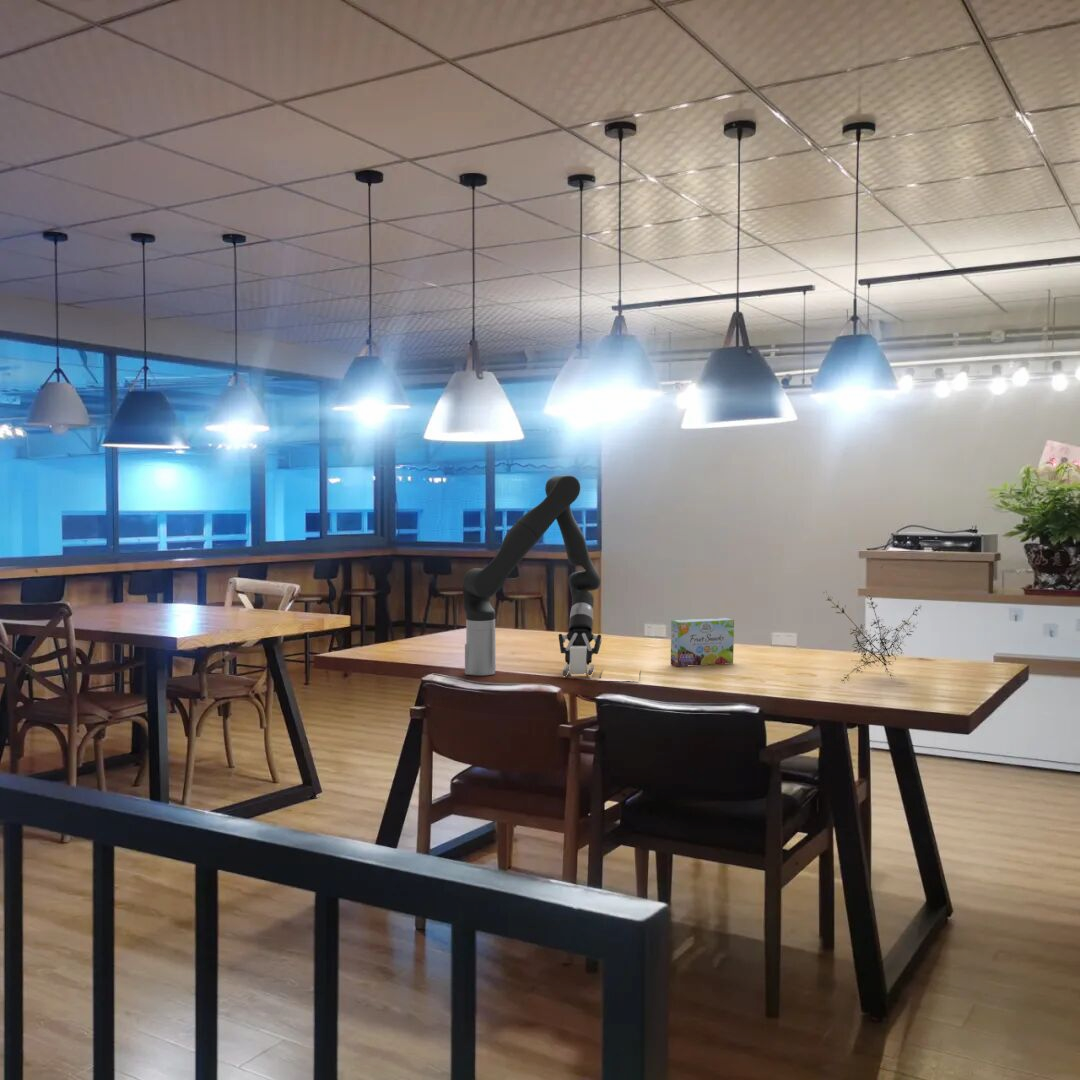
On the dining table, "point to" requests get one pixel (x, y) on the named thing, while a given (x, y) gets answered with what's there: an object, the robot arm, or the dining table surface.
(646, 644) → the dining table surface
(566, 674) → the brackets
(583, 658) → the block
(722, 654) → the snack box
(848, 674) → the dried plant
